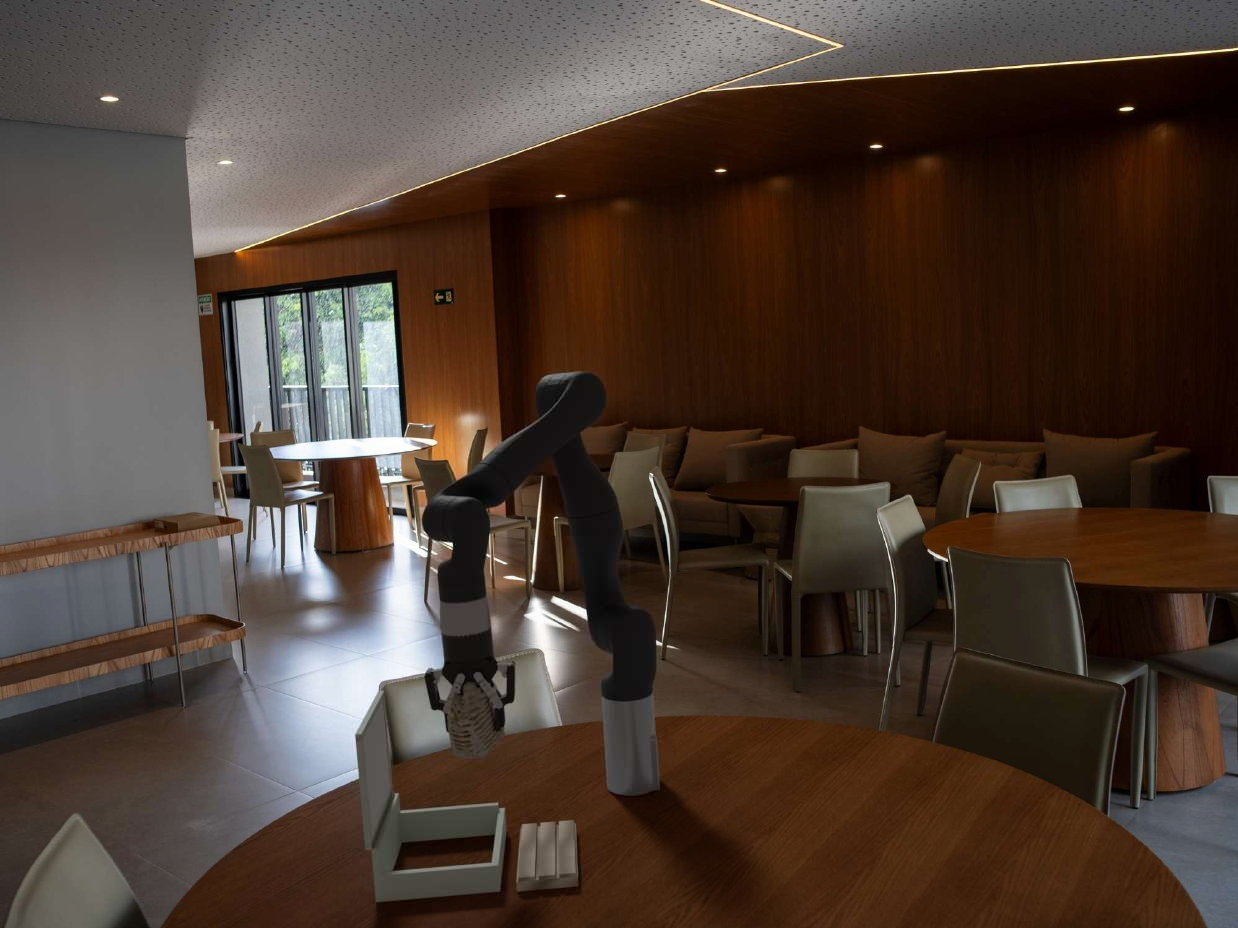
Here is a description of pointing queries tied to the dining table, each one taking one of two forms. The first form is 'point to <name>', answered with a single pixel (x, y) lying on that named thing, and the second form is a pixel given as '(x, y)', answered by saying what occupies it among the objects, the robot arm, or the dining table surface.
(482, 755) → the fossil tooth
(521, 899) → the dining table surface
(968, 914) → the dining table surface
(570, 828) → the slatted stand
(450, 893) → the cold frame
